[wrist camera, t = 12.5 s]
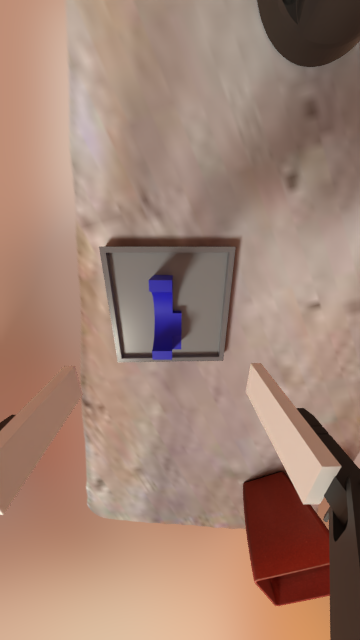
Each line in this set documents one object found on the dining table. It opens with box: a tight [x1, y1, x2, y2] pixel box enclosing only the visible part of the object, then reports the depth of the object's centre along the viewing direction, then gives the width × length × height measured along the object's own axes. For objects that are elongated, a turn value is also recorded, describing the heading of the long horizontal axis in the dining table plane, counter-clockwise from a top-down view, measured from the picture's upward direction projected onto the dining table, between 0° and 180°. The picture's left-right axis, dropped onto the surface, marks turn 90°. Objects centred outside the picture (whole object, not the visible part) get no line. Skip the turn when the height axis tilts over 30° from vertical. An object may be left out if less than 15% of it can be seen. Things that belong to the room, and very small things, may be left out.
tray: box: [99, 247, 236, 362], centre depth 29 cm, size 20×20×2 cm
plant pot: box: [243, 472, 330, 606], centre depth 44 cm, size 19×19×17 cm
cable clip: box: [149, 275, 182, 360], centre depth 27 cm, size 12×4×6 cm, turn 179°
